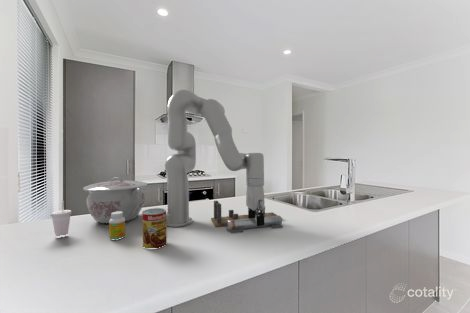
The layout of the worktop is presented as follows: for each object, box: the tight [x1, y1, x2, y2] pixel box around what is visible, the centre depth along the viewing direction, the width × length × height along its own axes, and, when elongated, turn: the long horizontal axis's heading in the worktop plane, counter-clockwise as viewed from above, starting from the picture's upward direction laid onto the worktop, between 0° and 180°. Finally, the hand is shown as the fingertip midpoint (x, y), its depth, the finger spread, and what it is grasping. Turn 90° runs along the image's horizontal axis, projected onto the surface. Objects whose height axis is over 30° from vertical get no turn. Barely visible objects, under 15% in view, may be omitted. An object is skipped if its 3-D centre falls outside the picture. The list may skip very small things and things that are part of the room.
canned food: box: [141, 207, 168, 248], centre depth 79 cm, size 8×8×12 cm
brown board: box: [210, 200, 283, 228], centre depth 106 cm, size 32×10×9 cm, turn 107°
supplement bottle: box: [108, 211, 126, 240], centre depth 85 cm, size 5×5×10 cm
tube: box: [225, 215, 283, 231], centre depth 96 cm, size 24×4×4 cm, turn 107°
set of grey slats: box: [230, 224, 284, 234], centre depth 96 cm, size 23×6×1 cm, turn 107°
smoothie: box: [50, 200, 72, 237], centre depth 87 cm, size 6×6×14 cm
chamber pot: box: [82, 176, 148, 225], centre depth 108 cm, size 28×28×21 cm
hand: (256, 222), depth 96 cm, fingers open, 9 cm apart
